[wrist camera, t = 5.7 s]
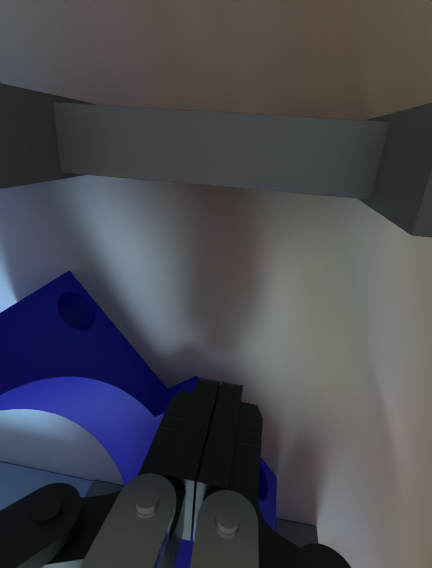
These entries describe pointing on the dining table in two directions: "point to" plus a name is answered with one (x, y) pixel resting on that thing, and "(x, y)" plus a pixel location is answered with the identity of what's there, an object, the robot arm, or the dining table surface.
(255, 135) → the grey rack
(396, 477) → the dining table surface
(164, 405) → the blue curved block
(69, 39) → the dining table surface
